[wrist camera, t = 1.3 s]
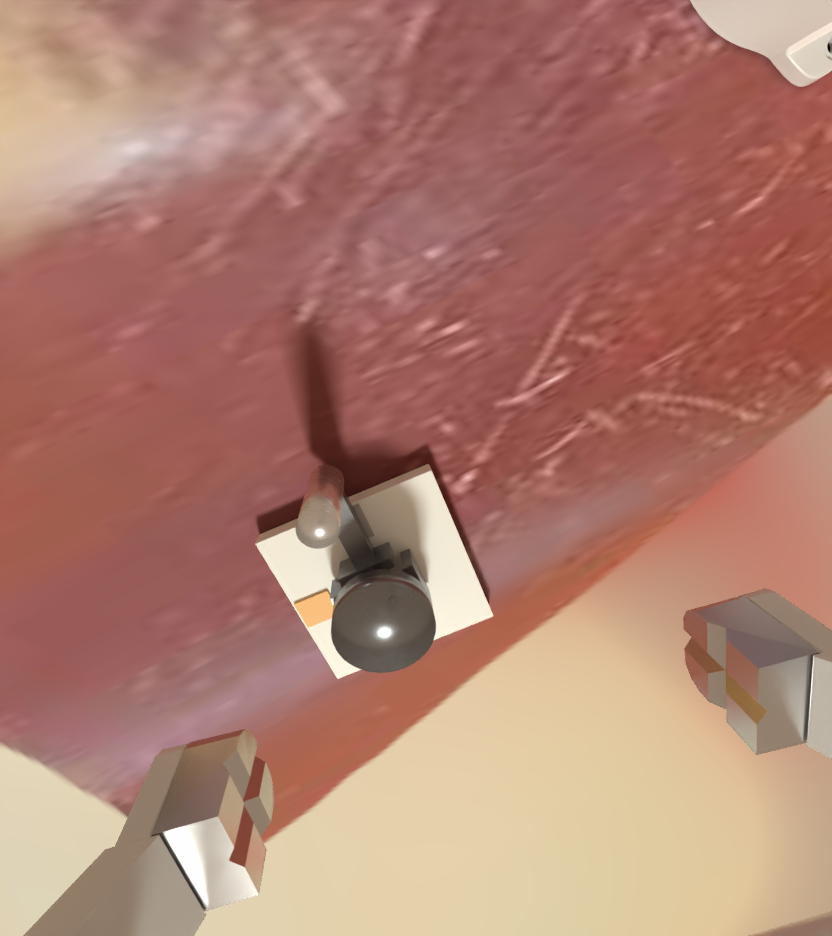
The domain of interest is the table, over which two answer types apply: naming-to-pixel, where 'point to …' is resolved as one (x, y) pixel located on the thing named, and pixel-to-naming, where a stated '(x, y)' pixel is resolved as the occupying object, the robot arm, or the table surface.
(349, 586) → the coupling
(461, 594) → the post base
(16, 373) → the table surface
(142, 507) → the table surface
